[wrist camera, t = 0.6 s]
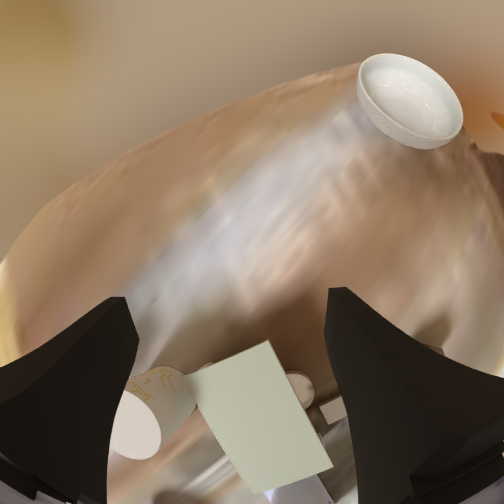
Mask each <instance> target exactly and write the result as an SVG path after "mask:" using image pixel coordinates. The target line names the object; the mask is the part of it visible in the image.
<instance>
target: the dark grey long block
mask: <svg viewBox="0 0 504 504" xmlns="http://www.w3.org/2000/svg"><path fill="white" fill-rule="evenodd" d="M421 344H422V343H421ZM423 345H425V344H423ZM425 346H426V347H428V348H430V349H432V350H433V351H435V352H437V353H439V354H441V355H443V356H445V355H444V352H443V349H441V348H437V347H433V346H429V345H425ZM318 405H319V407H320V409H321V411H322V413H323V415H324V417H325V419H326V421H327V423H328V425H329V424H331V423H334V422H336V421H338V420H340V419H342V418H344V417H346V416H347V413H346V409H345V406H344V403H343V400H342V397H341V393H340V394H338V395H337V396H335V397H333V398H331V399H329V400H327V401H324V402H322V403H320V404H318Z"/></svg>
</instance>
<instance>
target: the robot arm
mask: <svg viewBox="0 0 504 504" xmlns="http://www.w3.org/2000/svg"><path fill="white" fill-rule="evenodd" d="M324 337H325V342H326V347H327V352H328V357H329V360H330V363H331V366H332V369H333V372H334V375H335V378H336V381H337V384H338V387H339V390H340V393H341V397H342V400H343V403H344V406H345V409H346V413H347V417H348V421H349V427H350V432H351V438H352V444H353V451H354V458H355V466H356V475H357V486H358V504H504V457H503V455H502V453H503V452H504V441H503V440H504V378H502V377H498V376H494V375H490V374H487V373H484V372H481V371H478V370H475V369H473V368H470V367H467V366H465V365H463V364H460V363H458V362H456V361H454V360H451V359H449V358H447V357H445V356H443V355H441V354H439V353H437V352H435V351H433V350H432V349H430V348H428V347H426V346H425V345H423V344H421V343H420V342H418V341H416V340H415V339H413V338H412V337H410V336H409V335H407V334H406V333H404V332H403V331H401V330H400V329H399V328H397V327H396V326H394V325H393V324H392V323H390V322H389V321H388V320H386V319H385V318H384V317H382V316H381V315H380V314H379V313H377V312H376V311H375V310H374V309H372V308H371V307H370V306H369V305H368V304H366V303H365V302H364V301H363V300H362V299H360V298H359V297H358V296H357V295H356V294H354V293H353V292H352V291H351V290H349V289H348V288H347V287H338V288H329V292H328V302H327V311H326V320H325V329H324ZM138 344H139V337H138V334H137V331H136V328H135V326H134V323H133V320H132V317H131V314H130V311H129V308H128V305H127V302H126V299H125V297H110V298H108V299H106V300H105V301H103V302H102V303H100V304H99V305H97V306H96V307H95V308H93V309H92V310H90V311H89V312H88V313H86V314H85V315H84V316H82V317H81V318H80V319H78V320H77V321H76V322H74V323H73V324H72V325H70V326H69V327H68V328H66V329H65V330H63V331H62V332H61V333H59V334H58V335H56V336H55V337H54V338H52V339H51V340H49V341H48V342H46V343H45V344H43V345H42V346H40V347H39V348H37V349H35V350H34V351H32V352H30V353H29V354H27V355H25V356H23V357H21V358H19V359H17V360H15V361H13V362H11V363H9V364H7V365H5V366H3V367H0V504H66V502H68V503H71V504H107V465H108V454H109V447H110V440H111V434H112V429H113V424H114V419H115V415H116V412H117V409H118V406H119V403H120V400H121V397H122V395H123V392H124V389H125V386H126V384H127V381H128V378H129V376H130V373H131V370H132V367H133V365H134V362H135V357H136V353H137V349H138ZM263 493H264V494H265V495H266V497H267V498H268V500H269V501H270V502H271V504H335V503H334V502H333V500H332V498H331V497H330V495H329V494H328V492H327V490H326V489H325V487H324V485H323V484H322V482H321V480H320V479H319V477H318V475H317V474H315V475H313V476H310V477H307V478H305V479H302V480H299V481H296V482H293V483H290V484H287V485H284V486H281V487H278V488H275V489H272V490H268V491H265V492H263Z"/></svg>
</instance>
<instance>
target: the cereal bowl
mask: <svg viewBox="0 0 504 504" xmlns="http://www.w3.org/2000/svg"><path fill="white" fill-rule="evenodd" d="M356 87H357V95H358V99H359V102H360V104H361V106H362V109H363V110H364V112H365V114H366V115H367V117H368V118H369V119H370V121H371V122H372V123H373V124H374V125H375V126H376V127H377V128H378V129H379V130H380V131H382V132H383V133H384V134H385V135H387V136H388V137H390V138H391V139H393V140H395V141H397V142H398V143H401V144H403V145H406V146H408V147H413V148H417V149H434V148H438V147H442V146H443V145H445V144H447V143H449V142H450V141H451V140H452V139H453V138H454V137H455V136H456V135H457V134H458V133H459V131H460V129H461V127H462V124H463V112H462V108H461V105H460V102H459V100H458V98H457V96H456V94H455V93H454V91H453V90H452V88H451V87H450V86H449V85H448V84H447V82H446V81H445V80H444V79H443V78H442V77H440V75H438V74H437V73H436V72H435V71H433V70H432V69H430V68H429V67H427V66H426V65H424V64H422V63H420V62H419V61H416V60H414V59H412V58H409V57H405V56H402V55H398V54H389V53H384V54H377V55H374V56H371V57H369V58H368V59H366V60H365V61H364V62H363V63H362V64H361V66H360V68H359V71H358V75H357V85H356Z"/></svg>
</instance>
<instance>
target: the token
mask: <svg viewBox="0 0 504 504" xmlns="http://www.w3.org/2000/svg"><path fill="white" fill-rule="evenodd" d="M285 373H286V375H287V377H288V379H289V380H290V382H291V384H292V386H293V388H294V390H295V392H296V394H297V396H298V398H299V400H300V402H301V404H302V406H303V408H304V410H305V409H306V408H307V407H309V405H310V404H311V403H312V401H313V399H314V387H313V385H312V382H311V380H310V378H309V377H308V376H307V375H306V374H305V373H303V372H300V371H295V370H291V371H287V372H285Z"/></svg>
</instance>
